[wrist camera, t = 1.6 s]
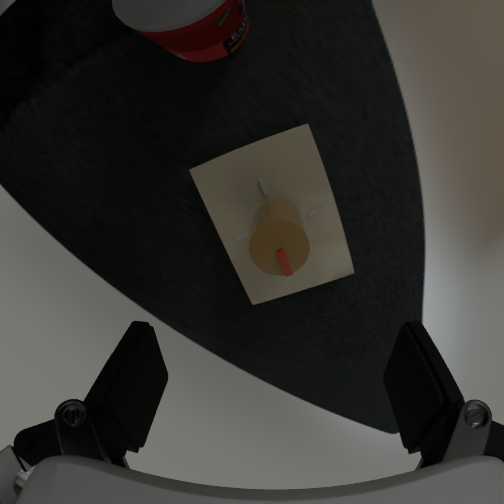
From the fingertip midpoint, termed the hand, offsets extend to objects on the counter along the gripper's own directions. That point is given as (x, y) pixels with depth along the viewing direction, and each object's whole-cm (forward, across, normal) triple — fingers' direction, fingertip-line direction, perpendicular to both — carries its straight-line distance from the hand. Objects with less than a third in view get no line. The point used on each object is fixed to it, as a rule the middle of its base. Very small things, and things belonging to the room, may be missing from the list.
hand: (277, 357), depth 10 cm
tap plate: (+19, 0, 0) cm, 19 cm away
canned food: (+19, +6, -19) cm, 27 cm away
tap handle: (+17, 0, 0) cm, 17 cm away
